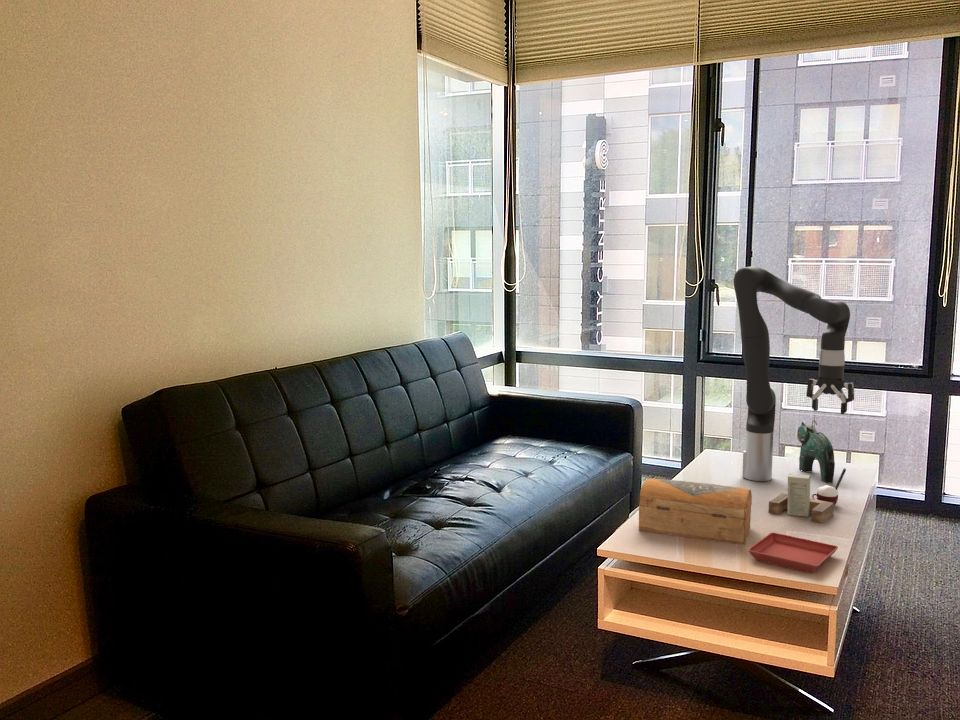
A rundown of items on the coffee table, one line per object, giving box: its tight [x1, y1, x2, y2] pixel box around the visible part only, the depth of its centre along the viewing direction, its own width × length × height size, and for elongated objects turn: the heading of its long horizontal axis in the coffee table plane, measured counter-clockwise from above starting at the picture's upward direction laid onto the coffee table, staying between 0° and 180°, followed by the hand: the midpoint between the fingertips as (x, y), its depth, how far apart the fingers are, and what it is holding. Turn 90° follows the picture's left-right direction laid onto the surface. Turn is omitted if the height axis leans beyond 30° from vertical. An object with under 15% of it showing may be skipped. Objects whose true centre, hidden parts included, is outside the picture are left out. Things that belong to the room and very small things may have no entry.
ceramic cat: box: [796, 419, 836, 484], centre depth 292 cm, size 20×6×20 cm, turn 6°
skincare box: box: [786, 473, 811, 518], centre depth 251 cm, size 6×4×12 cm
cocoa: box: [811, 467, 847, 506], centre depth 259 cm, size 10×6×12 cm, turn 55°
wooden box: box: [638, 477, 753, 546], centre depth 238 cm, size 30×16×14 cm, turn 65°
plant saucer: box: [747, 532, 839, 574], centre depth 216 cm, size 18×18×3 cm
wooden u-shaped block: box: [768, 493, 835, 524], centre depth 252 cm, size 16×11×4 cm
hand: (829, 412), depth 267 cm, fingers open, 8 cm apart
